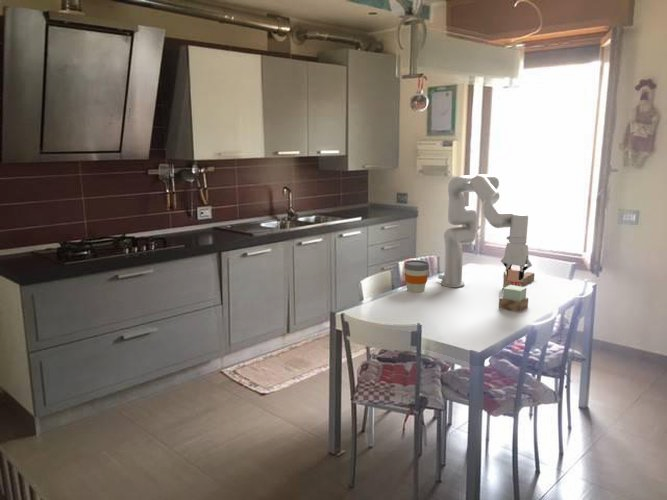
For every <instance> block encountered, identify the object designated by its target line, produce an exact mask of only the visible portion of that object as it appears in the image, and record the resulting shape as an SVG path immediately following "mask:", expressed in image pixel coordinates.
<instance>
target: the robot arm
mask: <svg viewBox="0 0 667 500" xmlns="http://www.w3.org/2000/svg"><path fill="white" fill-rule="evenodd" d="M499 186H500V181H499V179H498V177H497V176H496V175H494V174H492V173H491V174H490V173H489V174H488V173H486V174H477V175H458V176H454V177H452V178H451V179H450V180H449V181H448V185H447V194H448V209H447V210H448V211H447V220H448V223H449V224H450V225H453V226H454V227H450V228H447V229H446V230H445V232H444V234H443V239H444V250H445V251H444V268H443V270H444V272H443V274H438V276H437V279H440V280H441V281H440V284H441V286H444V287H448V288H462V287H464V286H465V282H464V281H462V280H463V278H462V277H463V261H464V252H463V249H462V245H469V244H472V243H473V242H474V241H475V240H476V237H477V225H478V224H477V223H478V213H477V211H476V210H475V208H474V207H472V206H466V198H465V195H464V193H475V194H476V195H477V197H478V198H479V199H480V201H481V202H482V203H483V206H482V211H483V216H484V218H485V219H486V220H487V222H488V223H489V224H490V226H491V227H493V228H496V229H501V228H504V229H505V228H509V236H506V240H507V241H508V242H507V243H506V246H505V249H504V254H503V255H504V257H503V258H502V259H501V260H500V262H501V263H502V264H503V266H504V267H505V270H506V269H507V278H508V269H511V268H512V266H513V265H514V266H518V267H519V269H520V272H519V280H522V279H523V278H524V273H525V272H526V270H528V269H529V268H530V267H533V264H532V262H531V261H530V260H529V247H528V243H527V239H528V238H527V235H528V226H529V225H528V224H529V216H528V215H527V214H526V213H519V212H516V211H514V210H513V211H512V210H510V211H509V210H508V211H505V210H504V211H498V210H497V208H495V206H494V205H495V204H496V203H497V202H498V200H499V199H500V193H499V191H498V190H497V189H498V188H499ZM461 225H463V226H461Z"/></svg>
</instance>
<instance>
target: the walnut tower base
mask: <svg viewBox="0 0 667 500" xmlns="http://www.w3.org/2000/svg"><path fill="white" fill-rule="evenodd" d="M528 307H529V297H526V298H525V299H523V300H521V301H520V302H519V301H513V300H508V299H503V296H501V297H500V298H499V299H498V309H500V310H501V309H502V310H506V311H511V312H516V313H520V312H522V311H524V310H527V309H528Z"/></svg>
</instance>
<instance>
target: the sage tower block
mask: <svg viewBox="0 0 667 500" xmlns="http://www.w3.org/2000/svg"><path fill="white" fill-rule="evenodd" d="M502 289H503V290H502V297H503V299H508V300H513V301H519V302H520V301H521V300H523V299H525V298H527V287H524V286H522V287H520V286H514V285H509V286H507V287H505V288H503V287H502Z"/></svg>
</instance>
